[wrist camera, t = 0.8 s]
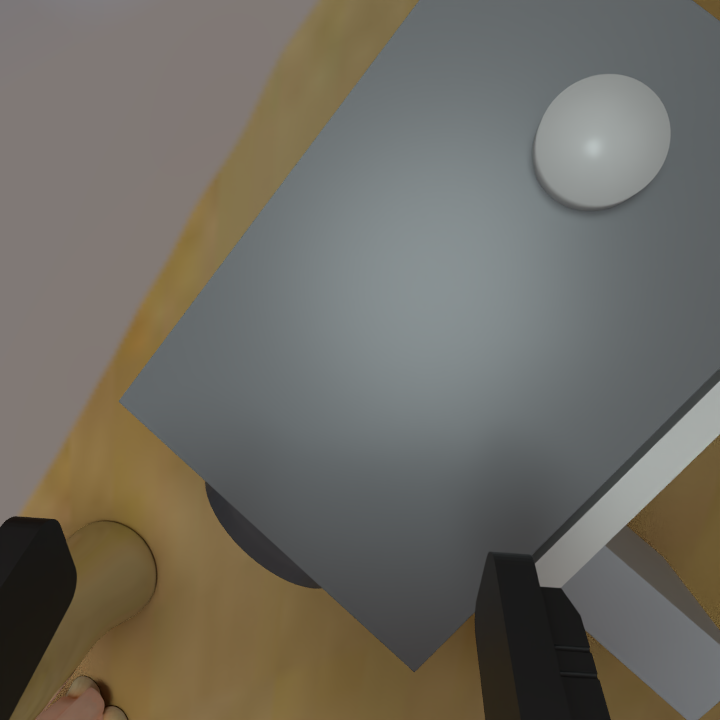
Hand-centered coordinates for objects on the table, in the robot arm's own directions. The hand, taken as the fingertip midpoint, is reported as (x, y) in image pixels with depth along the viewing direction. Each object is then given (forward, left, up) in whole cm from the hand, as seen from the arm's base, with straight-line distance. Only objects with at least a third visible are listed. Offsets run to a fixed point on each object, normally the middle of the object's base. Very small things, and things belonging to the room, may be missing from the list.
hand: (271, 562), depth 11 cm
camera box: (-3, -3, -20) cm, 21 cm away
